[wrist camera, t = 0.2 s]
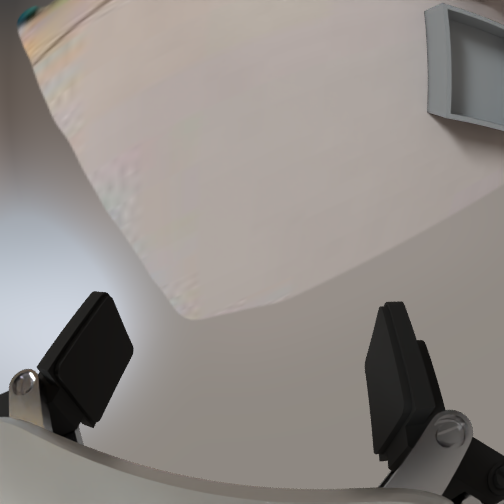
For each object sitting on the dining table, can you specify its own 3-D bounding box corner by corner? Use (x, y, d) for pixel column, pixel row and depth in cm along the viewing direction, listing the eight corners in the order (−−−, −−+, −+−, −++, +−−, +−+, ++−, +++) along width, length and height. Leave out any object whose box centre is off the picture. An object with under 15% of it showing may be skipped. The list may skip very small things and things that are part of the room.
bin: (424, 11, 24) (442, 3, 19) (507, 38, 22) (529, 37, 17) (427, 112, 31) (446, 118, 26) (506, 129, 29) (529, 138, 24)
